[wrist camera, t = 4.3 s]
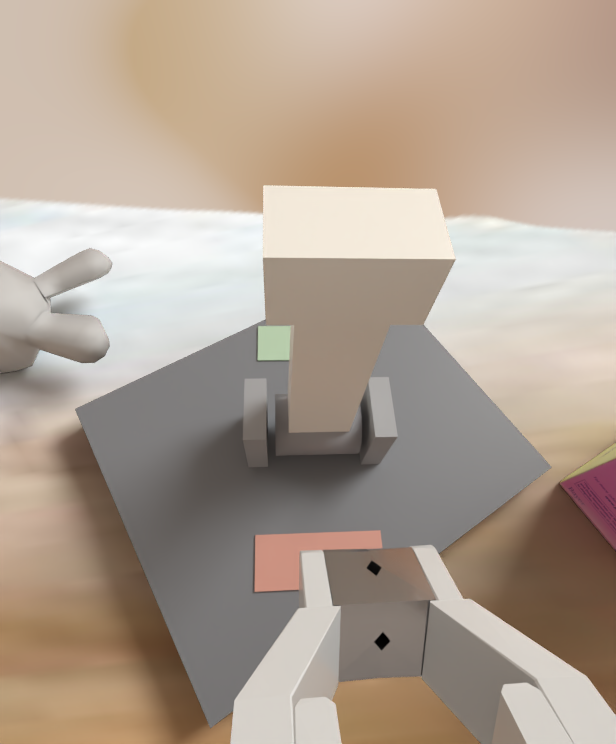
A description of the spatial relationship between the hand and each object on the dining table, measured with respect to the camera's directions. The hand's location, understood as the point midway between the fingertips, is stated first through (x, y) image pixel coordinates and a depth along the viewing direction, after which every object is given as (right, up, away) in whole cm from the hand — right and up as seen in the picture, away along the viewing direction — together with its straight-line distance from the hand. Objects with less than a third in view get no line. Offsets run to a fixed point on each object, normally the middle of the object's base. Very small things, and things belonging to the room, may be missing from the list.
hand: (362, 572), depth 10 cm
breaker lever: (-1, +1, +13) cm, 13 cm away
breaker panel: (-1, 0, +15) cm, 15 cm away
